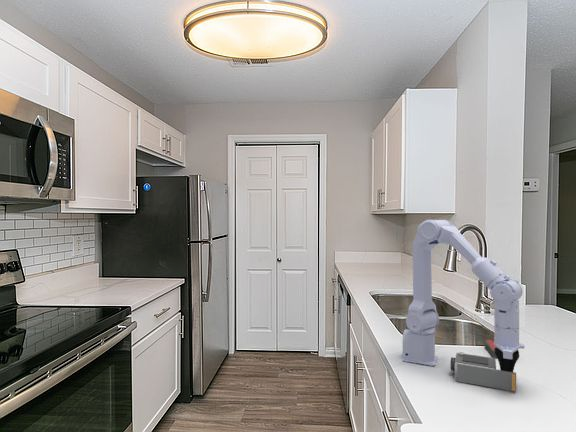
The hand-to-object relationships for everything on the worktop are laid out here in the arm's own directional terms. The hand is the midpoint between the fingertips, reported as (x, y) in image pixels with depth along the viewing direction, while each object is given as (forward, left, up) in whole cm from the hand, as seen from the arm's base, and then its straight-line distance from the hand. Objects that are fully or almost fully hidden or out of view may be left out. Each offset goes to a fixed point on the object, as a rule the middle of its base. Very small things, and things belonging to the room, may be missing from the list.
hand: (506, 377), depth 103 cm
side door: (-5, -3, -2) cm, 6 cm away
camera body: (-8, +2, -2) cm, 8 cm away
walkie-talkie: (-1, +31, -3) cm, 31 cm away
